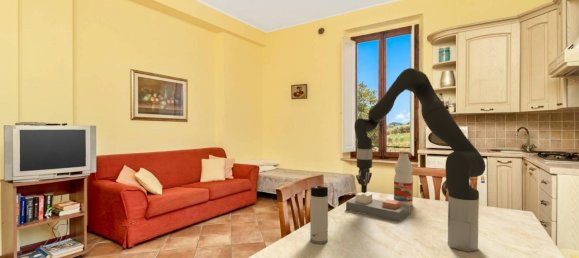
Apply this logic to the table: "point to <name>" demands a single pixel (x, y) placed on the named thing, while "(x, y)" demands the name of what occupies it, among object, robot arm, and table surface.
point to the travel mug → (319, 215)
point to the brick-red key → (391, 204)
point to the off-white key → (364, 198)
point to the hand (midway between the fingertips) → (364, 192)
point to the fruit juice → (403, 180)
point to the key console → (378, 209)
